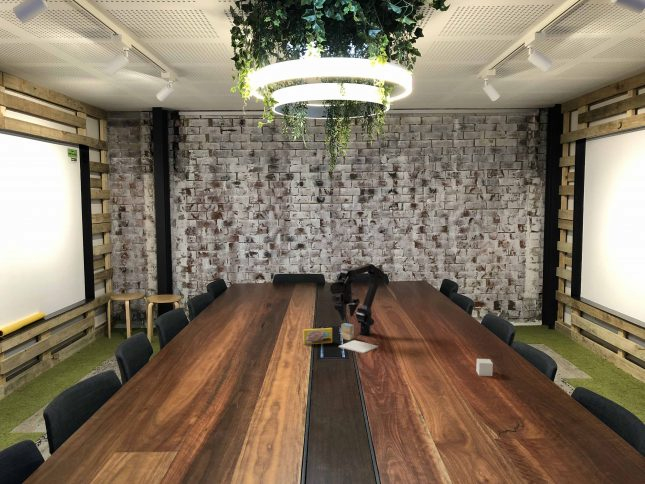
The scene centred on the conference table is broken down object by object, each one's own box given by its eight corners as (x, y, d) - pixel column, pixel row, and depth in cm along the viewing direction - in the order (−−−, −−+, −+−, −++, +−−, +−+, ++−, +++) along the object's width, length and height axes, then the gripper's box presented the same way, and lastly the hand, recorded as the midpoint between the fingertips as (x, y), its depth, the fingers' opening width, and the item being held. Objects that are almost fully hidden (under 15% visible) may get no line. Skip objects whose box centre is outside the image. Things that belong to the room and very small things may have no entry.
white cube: (476, 371, 234) (476, 358, 234) (489, 371, 234) (489, 359, 233) (478, 375, 228) (479, 363, 228) (492, 376, 228) (492, 363, 227)
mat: (353, 341, 279) (353, 340, 279) (377, 347, 269) (377, 345, 269) (338, 347, 268) (338, 346, 268) (363, 353, 258) (363, 352, 258)
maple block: (345, 336, 288) (345, 323, 287) (353, 338, 284) (353, 324, 283) (341, 338, 285) (341, 324, 284) (349, 340, 281) (349, 326, 280)
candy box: (303, 345, 272) (303, 330, 271) (303, 344, 274) (303, 329, 273) (332, 343, 276) (332, 328, 275) (331, 341, 278) (331, 327, 277)
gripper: (343, 286, 292) (343, 312, 294) (325, 292, 277) (326, 320, 279) (360, 289, 286) (360, 315, 288) (342, 295, 271) (342, 323, 273)
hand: (347, 318), depth 282 cm, fingers open, 9 cm apart
